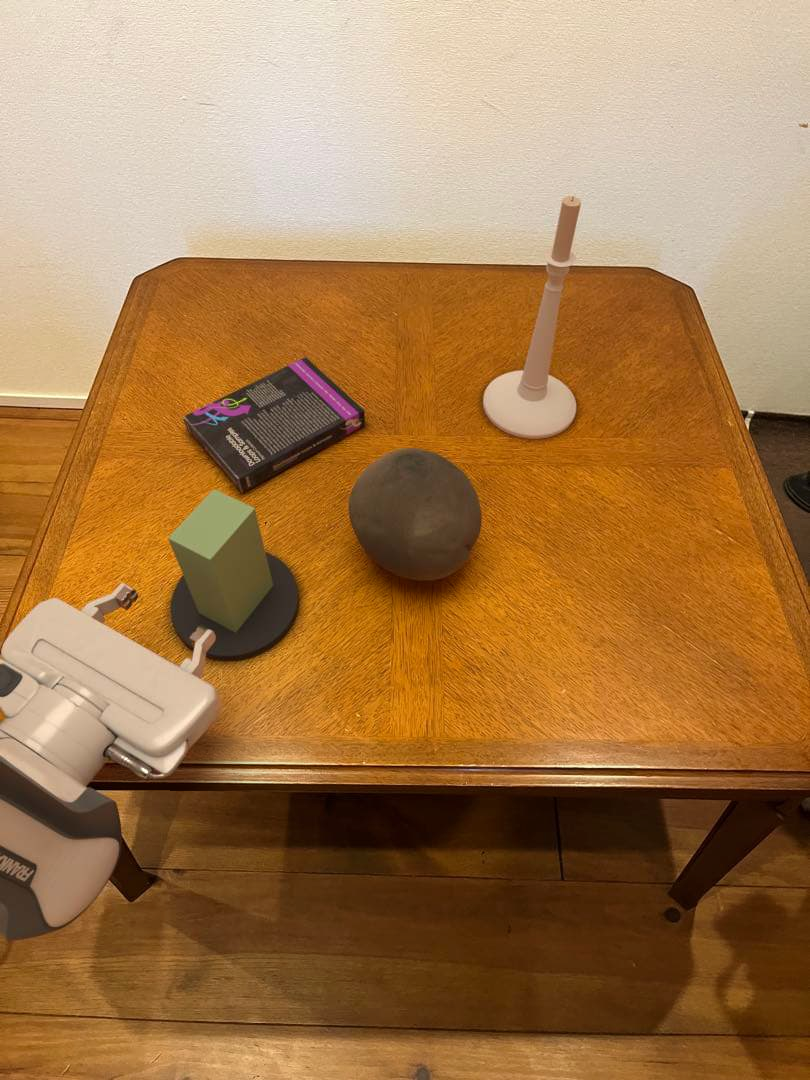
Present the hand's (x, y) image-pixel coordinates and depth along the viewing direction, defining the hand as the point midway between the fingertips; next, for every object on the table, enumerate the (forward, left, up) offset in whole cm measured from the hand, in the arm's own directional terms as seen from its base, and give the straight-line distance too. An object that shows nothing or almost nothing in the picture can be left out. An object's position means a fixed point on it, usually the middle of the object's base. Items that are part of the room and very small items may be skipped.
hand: (169, 609), depth 71 cm
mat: (+8, +1, -10) cm, 13 cm away
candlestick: (+56, -6, -10) cm, 57 cm away
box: (+30, +17, -10) cm, 36 cm away
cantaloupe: (+26, -10, -10) cm, 29 cm away
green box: (+8, +1, -9) cm, 12 cm away
